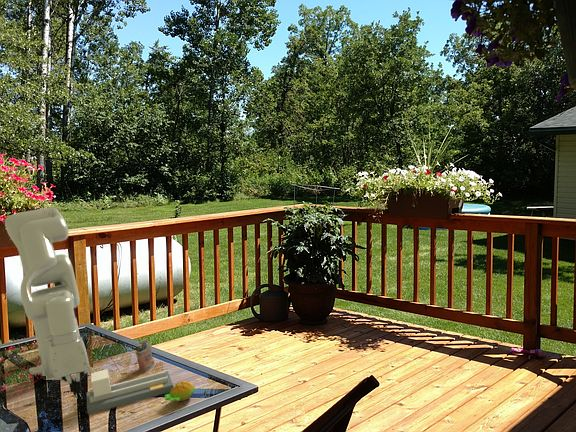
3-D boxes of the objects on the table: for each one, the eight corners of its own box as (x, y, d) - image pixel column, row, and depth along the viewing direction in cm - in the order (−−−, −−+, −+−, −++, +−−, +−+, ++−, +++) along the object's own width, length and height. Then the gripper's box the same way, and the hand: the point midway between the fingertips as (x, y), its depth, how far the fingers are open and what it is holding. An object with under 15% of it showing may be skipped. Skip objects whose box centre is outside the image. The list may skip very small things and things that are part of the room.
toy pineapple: (200, 395, 169) (198, 378, 168) (177, 410, 161) (174, 394, 160) (185, 391, 173) (182, 375, 172) (161, 406, 165) (158, 390, 164)
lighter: (146, 373, 190) (141, 345, 188) (137, 373, 191) (132, 346, 189) (156, 362, 198) (151, 336, 196) (147, 363, 199) (142, 337, 197)
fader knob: (95, 401, 168) (91, 381, 167) (94, 392, 175) (91, 373, 174) (112, 397, 170) (108, 377, 169) (111, 387, 176) (107, 369, 175)
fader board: (88, 414, 165) (86, 403, 165) (87, 397, 177) (85, 387, 176) (174, 390, 174) (172, 380, 173) (168, 376, 185) (167, 366, 184)
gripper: (37, 347, 160) (50, 405, 163) (91, 334, 165) (102, 391, 168) (39, 339, 167) (51, 394, 170) (91, 327, 172) (101, 381, 175)
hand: (76, 392), depth 169 cm, fingers closed
